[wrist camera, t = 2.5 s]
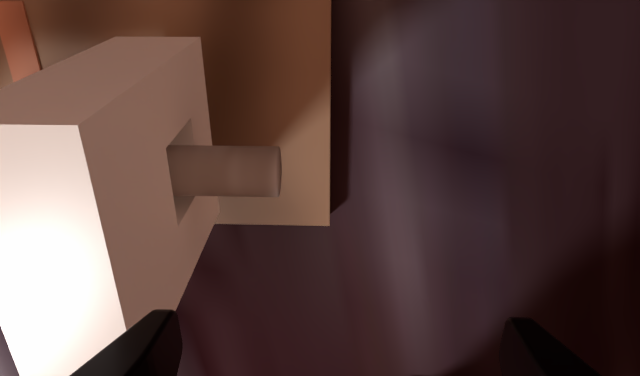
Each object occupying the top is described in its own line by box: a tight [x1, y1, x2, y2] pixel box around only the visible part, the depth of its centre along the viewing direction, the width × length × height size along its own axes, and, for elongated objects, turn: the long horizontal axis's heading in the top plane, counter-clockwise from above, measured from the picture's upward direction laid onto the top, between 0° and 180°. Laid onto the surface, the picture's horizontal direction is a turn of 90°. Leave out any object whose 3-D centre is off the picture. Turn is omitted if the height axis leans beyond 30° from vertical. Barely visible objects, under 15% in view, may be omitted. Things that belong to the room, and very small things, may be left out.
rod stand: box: [0, 0, 331, 226], centre depth 18 cm, size 20×10×8 cm, turn 90°
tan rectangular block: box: [0, 37, 220, 376], centre depth 15 cm, size 3×7×9 cm, turn 0°
